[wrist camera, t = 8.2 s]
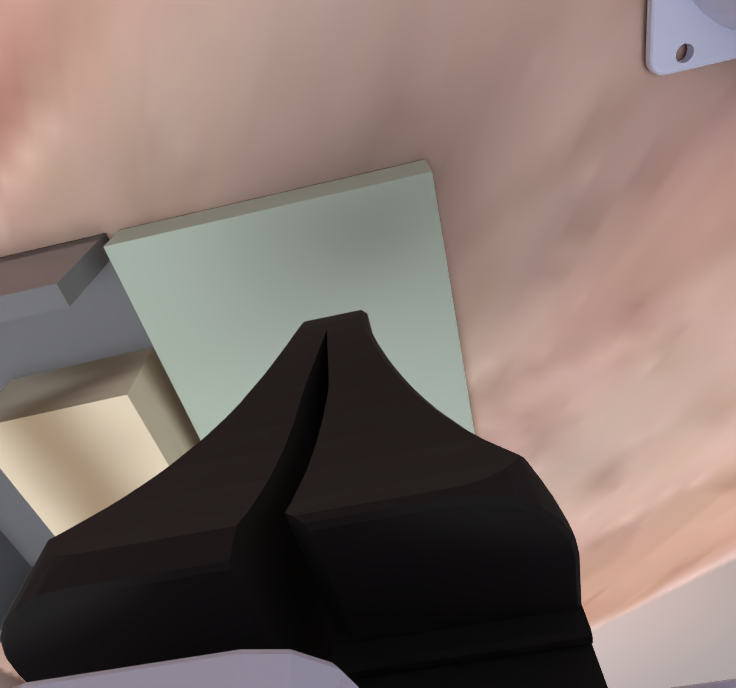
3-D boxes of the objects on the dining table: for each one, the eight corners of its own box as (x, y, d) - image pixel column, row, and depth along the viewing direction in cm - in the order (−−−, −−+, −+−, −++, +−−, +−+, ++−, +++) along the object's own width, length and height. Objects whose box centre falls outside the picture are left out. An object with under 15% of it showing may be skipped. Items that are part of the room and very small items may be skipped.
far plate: (426, 159, 19) (432, 171, 18) (481, 489, 28) (487, 514, 26) (118, 230, 20) (103, 246, 19) (261, 528, 29) (257, 553, 27)
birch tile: (152, 347, 22) (127, 394, 20) (211, 458, 25) (196, 511, 23) (11, 379, 23) (-32, 429, 20) (85, 484, 26) (57, 538, 23)
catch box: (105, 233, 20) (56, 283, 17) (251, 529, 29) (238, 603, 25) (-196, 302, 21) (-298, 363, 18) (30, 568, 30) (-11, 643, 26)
